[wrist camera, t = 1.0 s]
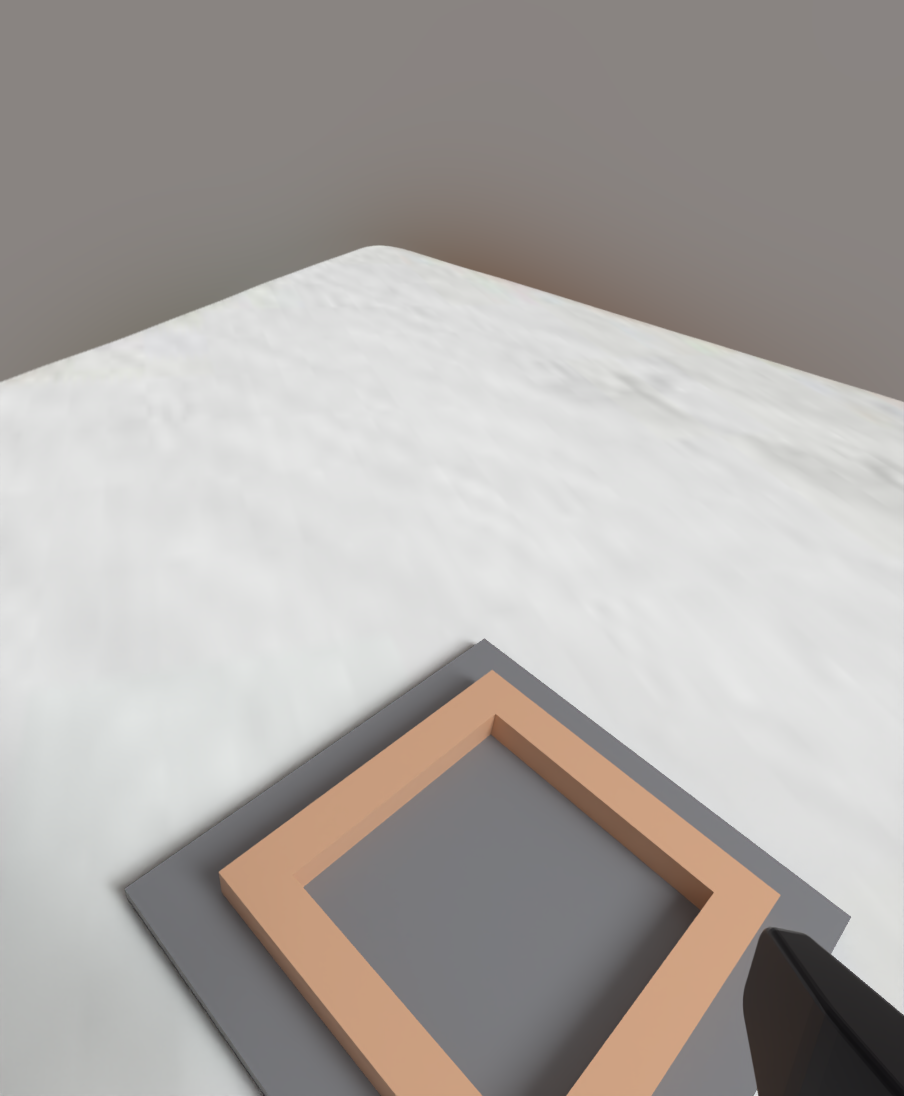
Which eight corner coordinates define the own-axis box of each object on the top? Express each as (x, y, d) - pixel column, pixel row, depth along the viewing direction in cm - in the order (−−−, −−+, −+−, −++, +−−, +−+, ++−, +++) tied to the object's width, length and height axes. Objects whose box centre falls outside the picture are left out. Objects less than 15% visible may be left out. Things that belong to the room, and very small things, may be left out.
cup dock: (535, 1485, 15) (553, 1483, 14) (127, 898, 23) (117, 867, 22) (842, 925, 25) (868, 898, 24) (482, 648, 33) (488, 618, 32)
